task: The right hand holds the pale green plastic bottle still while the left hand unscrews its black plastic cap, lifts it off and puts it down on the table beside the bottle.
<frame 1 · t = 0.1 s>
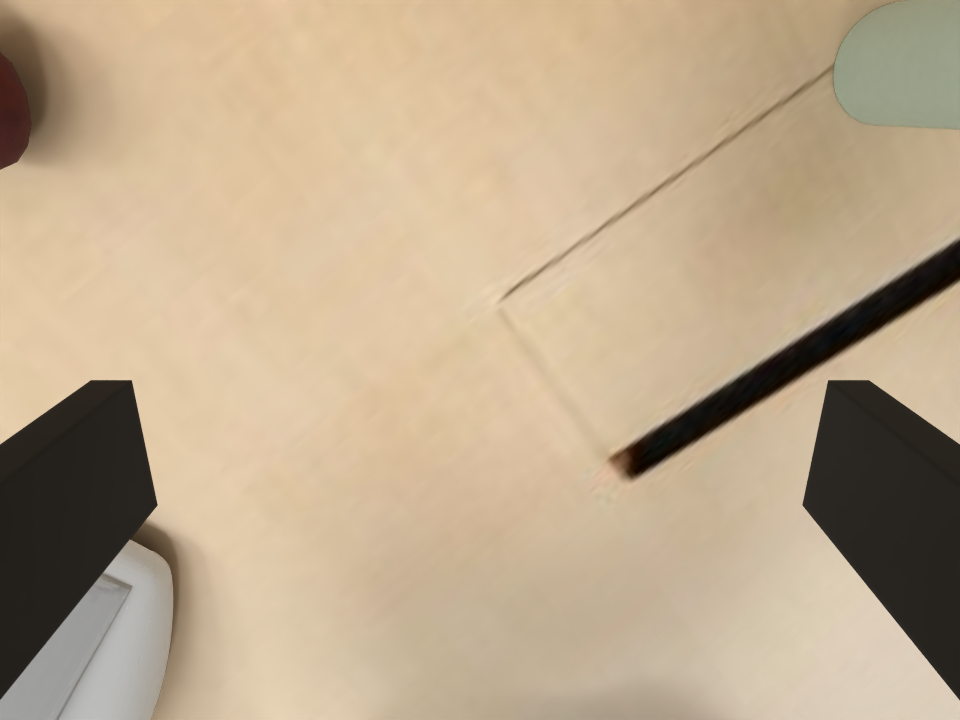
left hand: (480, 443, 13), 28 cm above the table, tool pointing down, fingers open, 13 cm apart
bottle: (890, 65, 36), on the table
projector: (75, 631, 50), on the table
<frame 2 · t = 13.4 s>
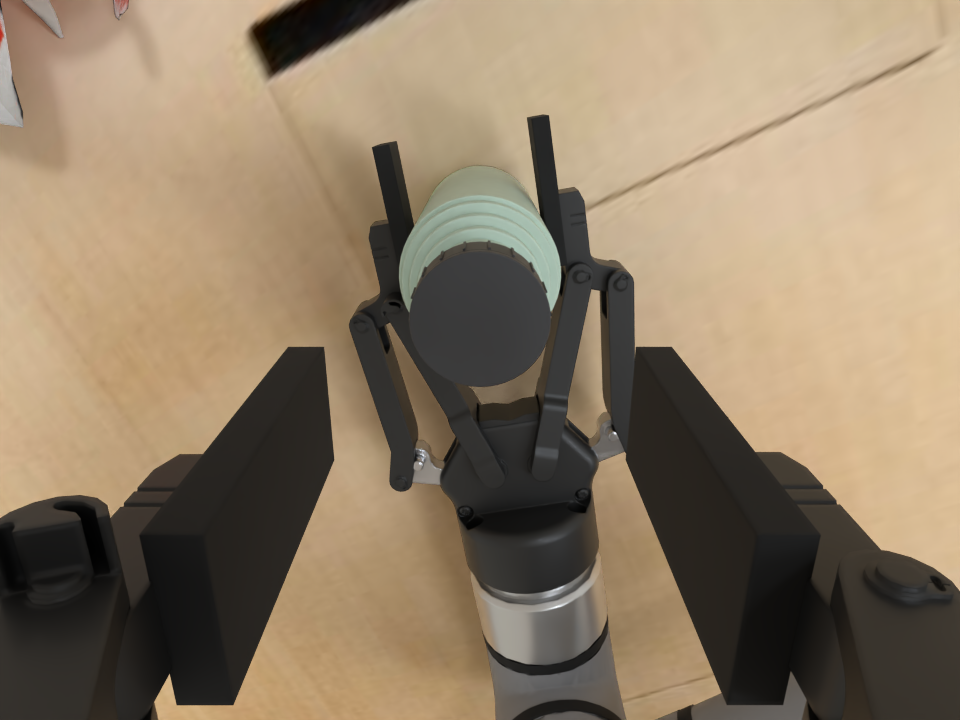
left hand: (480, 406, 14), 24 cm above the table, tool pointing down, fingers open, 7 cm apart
right hand: (460, 131, 29), fingers closed on bottle, 6 cm apart
fish: (52, 4, 33), on the table
cap: (480, 319, 20), point 18 cm above the table, screwed on, not yet turned
bottle: (480, 222, 37), on the table, touching right hand
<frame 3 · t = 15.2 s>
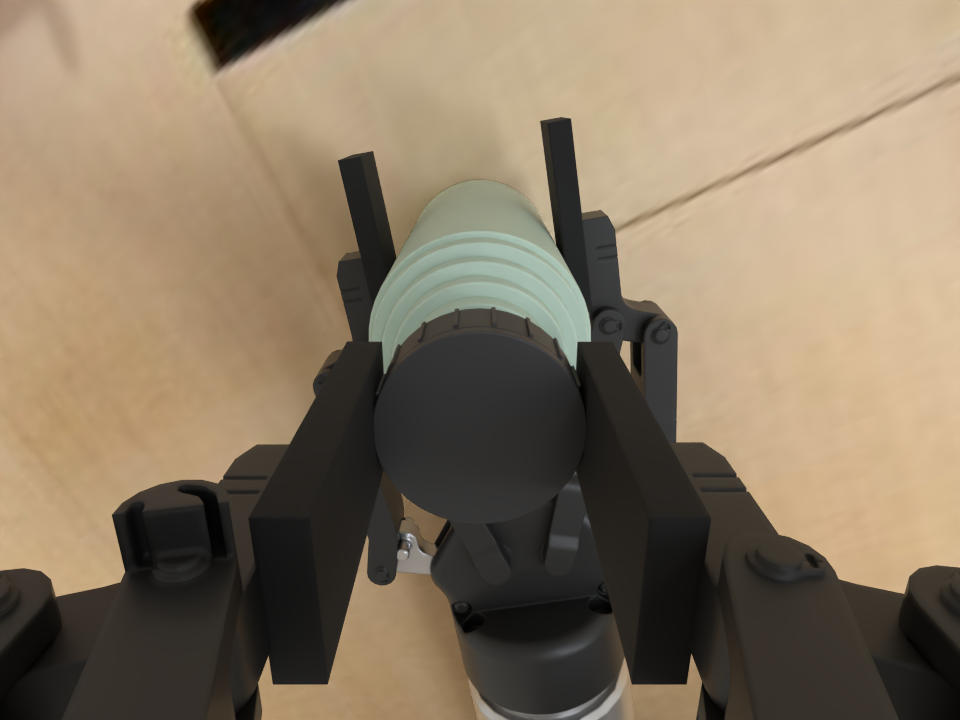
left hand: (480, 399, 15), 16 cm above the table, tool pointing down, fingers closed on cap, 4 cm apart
right hand: (454, 139, 23), fingers closed on bottle, 6 cm apart
cap: (479, 426, 13), point 18 cm above the table, screwed on, not yet turned, touching left hand
bottle: (479, 249, 30), on the table, touching right hand
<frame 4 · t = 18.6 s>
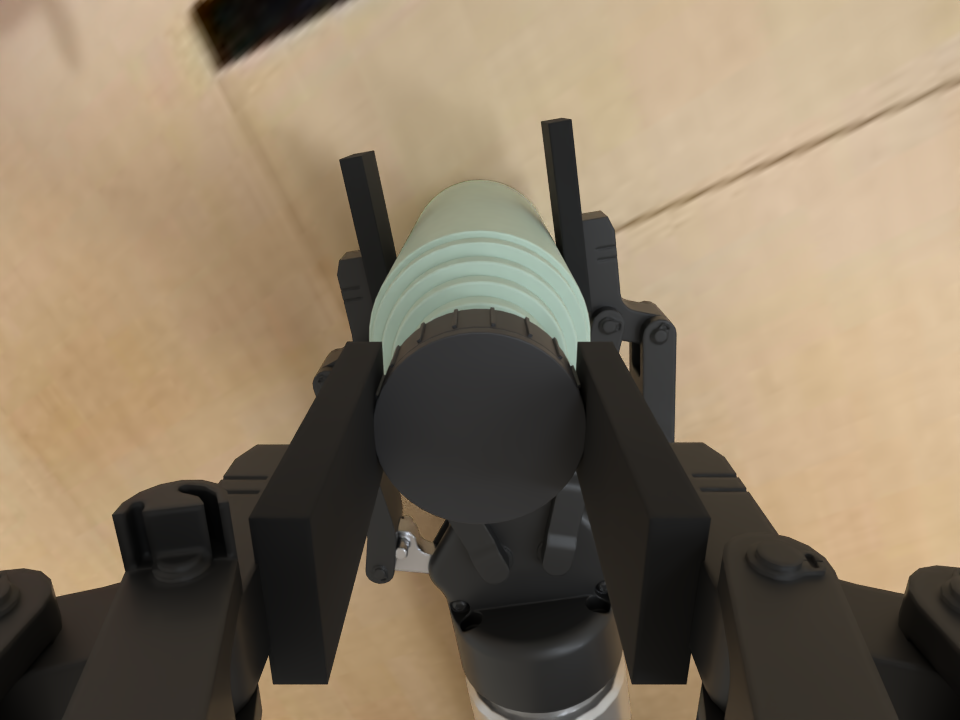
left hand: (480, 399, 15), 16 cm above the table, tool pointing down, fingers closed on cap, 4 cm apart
right hand: (455, 139, 23), fingers closed on bottle, 6 cm apart
cap: (479, 427, 13), point 18 cm above the table, turned 101° so far, risen 0.1 cm, still on its thread, touching left hand
bottle: (479, 249, 30), on the table, touching right hand
when the left hand's fingers open (1 cm above the table, at t = 35.1 s): cap drops 1 cm, point 1 cm above the table.
when the right hand's fingers open (6 cm above the table, at t = 36.3 s): bottle stays where it is, on the table.
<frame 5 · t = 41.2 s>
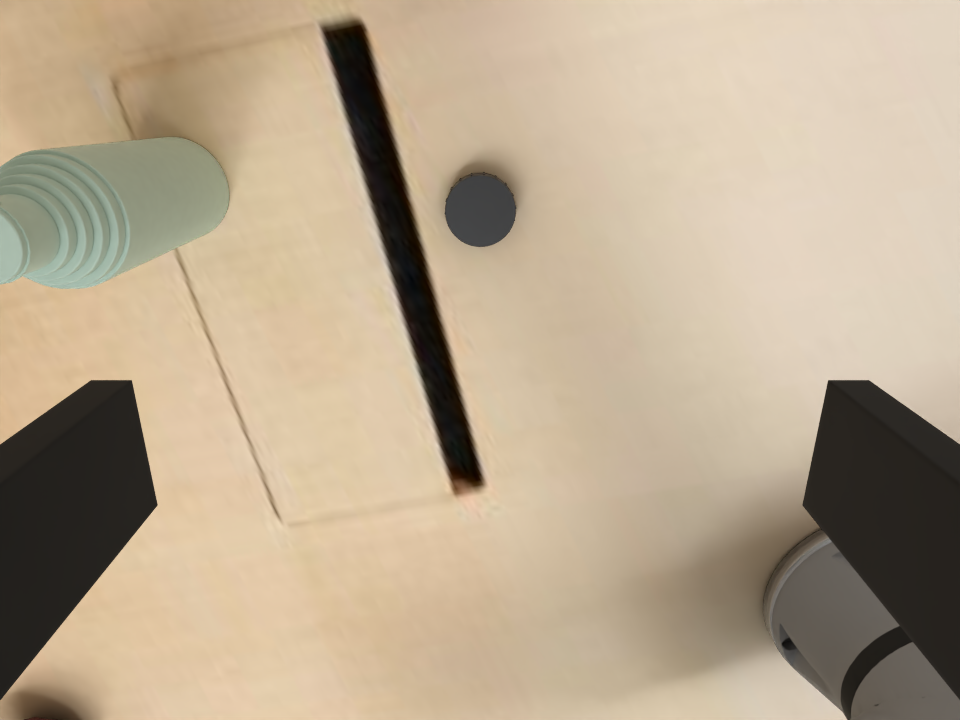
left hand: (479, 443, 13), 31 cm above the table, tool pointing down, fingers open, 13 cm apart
cap: (480, 211, 40), point 1 cm above the table, off its thread
bottle: (179, 188, 41), on the table
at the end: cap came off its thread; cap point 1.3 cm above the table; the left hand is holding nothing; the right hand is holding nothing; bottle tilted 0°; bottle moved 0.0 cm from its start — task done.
